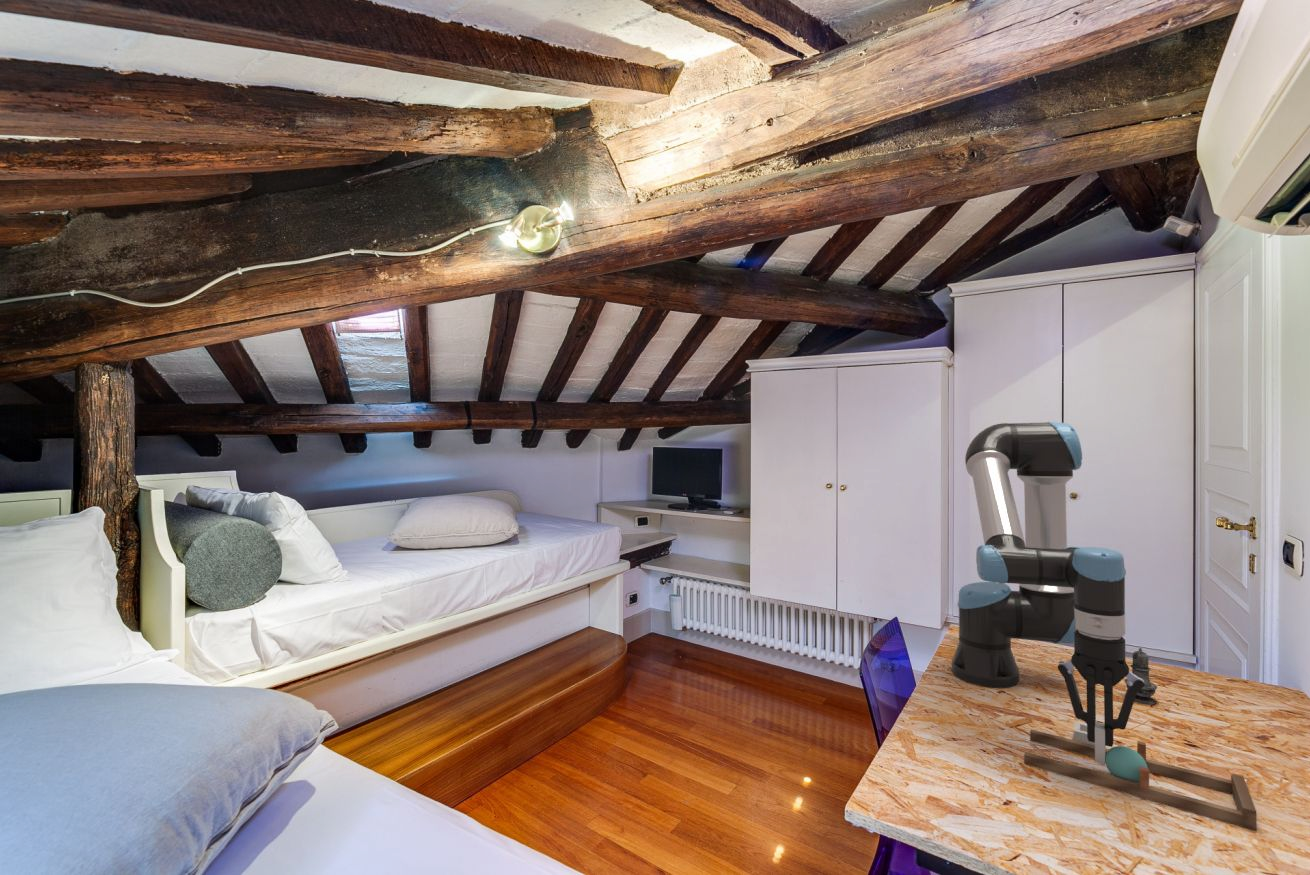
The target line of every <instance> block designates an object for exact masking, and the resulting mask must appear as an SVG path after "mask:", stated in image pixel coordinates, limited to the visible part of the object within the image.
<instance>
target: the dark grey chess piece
mask: <svg viewBox="0 0 1310 875" xmlns="http://www.w3.org/2000/svg"><path fill="white" fill-rule="evenodd" d="M1130 667H1131V670H1132V671H1131V672H1132V673H1133V674H1135V675H1136V676H1140V677H1142V678H1143V679H1144V687H1143V688H1142V689H1141V690H1140V691H1139V692H1138V693H1137V694H1136V697H1135V700H1134V703H1138V704H1143V705H1155V704H1156V699H1154V698H1153V697H1152V696H1154V694H1156V690H1157V689H1158V686H1157V685H1156V684H1155V683H1153V682H1151V681H1150V671H1151V668H1150V667H1149V655H1148V654H1147V653H1146V652H1144V651H1143V649H1142V648H1141V647H1139V648H1138V650H1136V651H1134V652H1132V664H1131V665H1130ZM1123 680H1124V683H1125V685H1126V689H1127V688H1128V686H1129V685H1128V684H1127V678H1124V679H1123Z"/></svg>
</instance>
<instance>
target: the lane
mask: <svg viewBox="0 0 1310 875" xmlns="http://www.w3.org/2000/svg"><path fill="white" fill-rule="evenodd" d="M1029 741H1031V742H1033V743H1038V744H1042V745H1045V746H1049V747H1053V748H1057V749H1060V750H1061V749H1062V750H1065V751H1068V752H1072V753H1076V754H1078V755H1083V756H1087V757H1091V758H1094V759H1095V746H1094V745H1090V744H1087V743H1083V742H1079V741H1075V740H1074V739H1070V738H1066V737H1062V736H1058V735H1054V734H1050V733H1046V732H1042V731H1038V730H1035V729H1030V731H1029ZM1136 742H1137V743H1136V745H1137V749H1136V750H1137V751H1136V752H1137V753H1139V754H1140V755H1141V756H1142V757H1143V759H1144V760H1145V762H1146V764H1147V767H1148V768H1145V767H1141V766H1140V783H1137V782H1133V781H1130V780H1126V779H1122V778H1119V777H1115V776H1113V775H1112V774H1109V773H1104V772H1101V771H1098V770H1093V769H1090V768H1086V767H1081V766H1078V765H1075V764H1072V763H1071V764H1070V763H1067V762H1063V761H1061V760H1057V759H1053V758H1050V757H1047V756H1043V755H1038V754H1034V753H1031V752H1028V751H1025V752H1024V755H1023V756H1024V760H1023V761H1024V762H1023V763H1024V765H1027V766H1031V767H1034V768H1037V769H1041V770H1045V771H1049V772H1052V773H1055V774H1059V775H1062V776H1066V777H1069V778H1071V779H1072V778H1073V779H1076V780H1080V781H1083V782H1087V783H1090V784H1094V785H1097V786H1100V787H1103V788H1107V789H1111V790H1114V791H1118V792H1122V793H1125V794H1129V795H1132V796H1134V797H1139V798H1142V799H1145V800H1149V801H1152V802H1156V803H1160V804H1164V805H1167V806H1170V807H1174V808H1177V809H1181V810H1185V811H1186V812H1187V811H1188V812H1191V813H1194V814H1198V815H1202V816H1205V817H1209V818H1211V819H1212V818H1213V819H1215V820H1219V821H1222V822H1225V823H1230V824H1232V825H1236V826H1239V827H1243V828H1247V829H1250V830H1253V831H1257V823H1258V822H1257V809H1256V806H1255V804H1254V800H1253V799H1252V798H1253V797H1252V795H1251V793H1250V790H1249V788H1248V785H1247V783H1246V780H1245V777H1244V775H1243V776H1242V775H1239V774H1236V773H1235V774H1234V773H1230V777H1231V778H1230V779H1228V778H1223V777H1220V776H1216V775H1212V774H1207V773H1204V772H1200V771H1196V770H1192V769H1190V768H1189V769H1188V768H1185V767H1181V766H1176V765H1173V764H1168V763H1165V762H1161V761H1157V760H1152V759H1149V758H1147V744H1146V742H1145V741H1141V740H1137V741H1136ZM1109 749H1110V748H1106V753H1107V752H1108V750H1109ZM1150 773H1151V774H1155V775H1160V776H1164V777H1166V778H1171V779H1175V780H1179V781H1182V782H1185V783H1190V784H1193V785H1197V786H1200V787H1205V788H1208V789H1213V790H1215V791H1220V792H1222V793H1224V792H1225V793H1228V794H1231V795H1232V797H1233V800H1234V803H1235V805H1236V808H1237V809H1235V808H1231V807H1228V806H1224V805H1220V804H1217V803H1212V802H1208V801H1205V800H1202V799H1198V798H1194V797H1192V796H1189V795H1183V794H1180V793H1177V792H1173V791H1170V790H1167V789H1166V790H1165V789H1162V788H1158V787H1155V786H1150Z"/></svg>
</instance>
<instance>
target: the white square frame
mask: <svg viewBox="0 0 1310 875" xmlns="http://www.w3.org/2000/svg"><path fill="white" fill-rule="evenodd" d="M1073 740H1075V741H1079V742H1083V743H1087V744H1090V745H1094V746H1095V743H1094V742H1090V741H1088V739H1087V723H1086V722H1080V721H1076V720H1075V721H1074V729H1073Z"/></svg>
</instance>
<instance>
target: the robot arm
mask: <svg viewBox="0 0 1310 875" xmlns="http://www.w3.org/2000/svg"><path fill="white" fill-rule="evenodd" d="M965 452H966V453H965V457H964V459H965V460H964V463H965V468H966V472H967V473H968V475H970V477H972V482H973V487H974V493H975V499H976V504H977V508H978V510H977V511H978V515H979V520H980V526H981V532H982V537H983V544H984V545H983V544H982V545H979V546H978V547H977V548H976V556H975V557H976V559H975V561H976V571H977V575H978V577H979V579H981V581H978V582H972V583H971V582H970V583H968V584H966V585H963V586H962V587H960V589H959V591H958V602H957V607H958V643H957V647H956V649H955V651H954V655H953V657H952V660H951V671H952V672H951V673H952V674H954V676H956V677H958V678H959V679H961V680H963V681H965V682H968V683H970V684H974V685H977V686H982V687H986V688H996V689H997V688H999V689H1000V688H1001V689H1002V688H1010V687H1014V686H1017V685H1018V684H1019V683H1020V670H1019V668H1018V665H1017V662H1016V659H1015V657H1014V653H1013V652H1012V639H1016V640H1017V639H1018V640H1027V641H1036V642H1047V643H1048V642H1049V643H1053V644H1073V646H1074V652H1073V654H1072V655H1071V658H1070V660H1067V661H1063V660H1061V661H1059V662H1058V665H1057V670H1058V671H1059V673H1060V675H1061V676H1062V677H1063V678H1064V682H1065V685H1066V689H1067V692H1068V696H1069V700H1070V703H1071V706H1072V710H1073V713H1074V717H1075V718H1076V719H1077V720H1081V721H1084V723H1085V724H1087V739H1088V741H1090V742H1094V743H1095V758H1094V763H1096V764H1099V765H1103V766H1106V763H1105V756H1106V749H1107V747H1111V748H1113V747H1114V730H1118V729H1119V730H1125V729H1126V727H1127V723H1128V721H1129V719H1130V715H1131V712H1132V709H1133V706H1134V703H1135V702H1134V700H1135V697H1136V694H1137V693H1138V692H1139V691H1140V690H1141V689H1142V688H1143V687H1144V679H1143V678H1142V677H1140V676H1136V675H1135V674H1133V673H1132V671H1130V667H1129V665H1128V663H1127V662H1126V660H1127V659H1126V639H1125V638H1124V636H1125V635H1126V611H1125V610H1126V609H1125V608H1126V606H1125V605H1126V604H1125V603H1126V601H1125V600H1126V597H1125V596H1126V595H1125V594H1126V589H1125V588H1126V586H1125V583H1126V580H1125V579H1126V575H1127V574H1126V573H1127V572H1126V571H1127V570H1126V568H1125V557H1124V555H1123V554H1122V553H1121V552H1119V551H1117V550H1114V549H1109V548H1105V547H1093V546H1085V547H1082V546H1081V547H1079V546H1072V545H1071V546H1068V545H1067V544H1068V540H1067V534H1068V533H1067V500H1066V499H1067V498H1066V497H1067V495H1066V493H1067V492H1066V490H1067V489H1066V487H1067V486H1066V484H1067V483H1068V482H1069V481H1071V479H1073V477H1074V473H1073V472H1074V471H1076V470H1077V471H1078V470H1079V469H1081V467H1082V464H1083V463H1082V462H1083V451H1082V446H1081V442H1080V437H1079V435H1078V433H1077V431H1076V429H1075V428H1074V427H1073V426H1072V425H1071V424H1069V423H1067V422H1051V421H1047V422H1046V421H1045V422H1022V423H1021V422H1017V423H1016V422H1015V423H1007V422H1005V423H1003V422H1002V423H997V424H996V423H995V424H993V425H991V426H988V427H986V428H984V429H983V430H982V431H980V432H978V434H976V436H975V437H974V438H973V439H972V440H971V442H970V443H969V446H968V447H967V450H966V451H965ZM1010 470H1016V477H1017V478H1019V479H1020V480H1021V481H1022V483H1023V485H1024V486H1023V487H1024V534H1023V531H1022V525H1021V522H1020V517H1019V514H1018V510H1017V505H1016V502H1015V498H1014V497H1015V496H1014V494H1013V489H1012V484H1011V480H1010V477H1009V472H1010ZM1024 535H1025V536H1024ZM1024 537H1025V538H1024ZM982 580H983V581H982ZM1008 584H1019V585H1018V588H1019V589H1018V590H1012V589H1011V587H1010V586H1009V585H1008ZM1074 668H1075V669H1076V670H1077V672H1078V674H1080V675H1081V676H1080V677H1082V678H1083V680H1085V681H1086V682H1085V683H1086V684H1085V685H1086V711H1085V710H1084V707H1083V704H1082V701H1081V697H1080V694H1079V690H1078V687H1077V684H1076V680H1075V676H1074V671H1075V669H1074ZM1125 677H1126V679H1127V684H1128V685H1129V686H1128V688H1127V687H1126V693H1125V695H1124V698H1123V701H1122V704H1121V707H1120V710H1119V713H1118V716H1117V718H1114V687H1116V686H1117V685H1118V684H1119V683H1120V682H1121V681H1122V680H1124V679H1125ZM1096 685H1100V686H1103V702H1104V703H1103V705H1104V706H1103V714H1104V715H1103V716H1104V717H1103V718H1104V719H1103V720H1104V723H1102V722H1099V721H1096V719H1097V714H1096V713H1097V711H1096V710H1097V709H1096V708H1097V707H1096V704H1097V702H1096V700H1097V698H1096V691H1097V690H1096V688H1097V687H1096Z"/></svg>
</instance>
